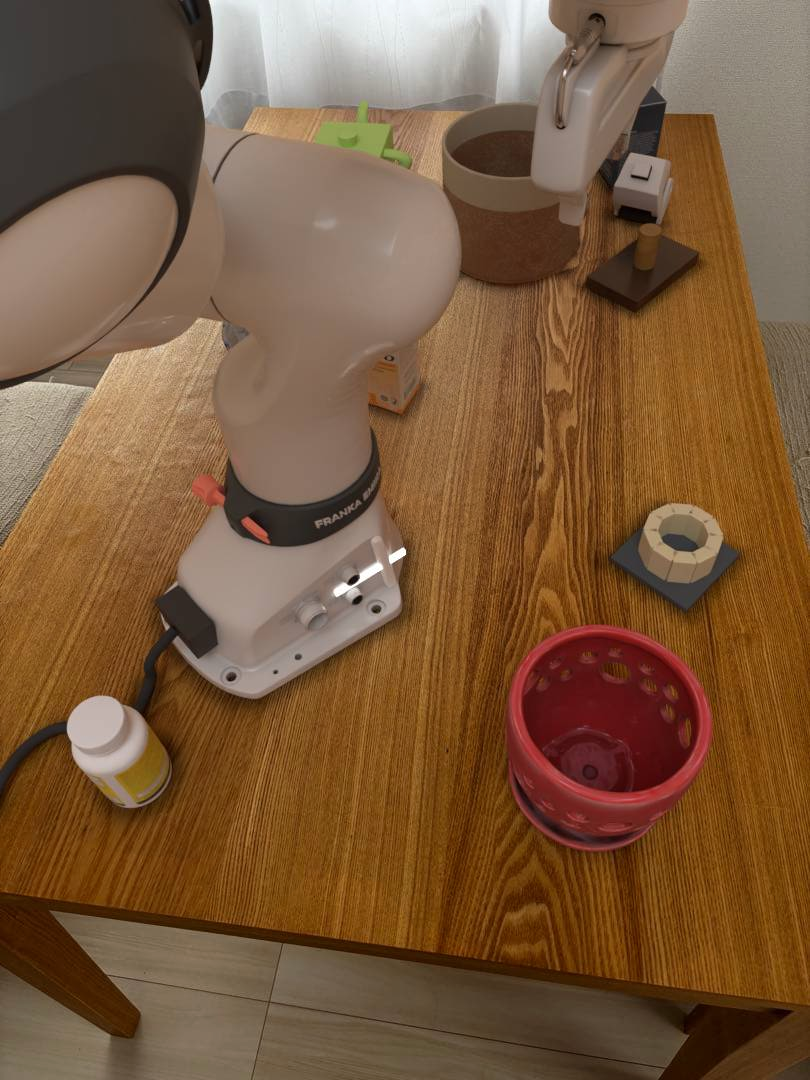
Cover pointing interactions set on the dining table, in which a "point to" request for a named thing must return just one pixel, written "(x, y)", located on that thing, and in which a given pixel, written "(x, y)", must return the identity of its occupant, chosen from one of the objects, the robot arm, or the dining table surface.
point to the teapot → (363, 137)
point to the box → (640, 135)
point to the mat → (671, 591)
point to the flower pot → (602, 736)
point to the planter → (502, 197)
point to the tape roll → (680, 563)
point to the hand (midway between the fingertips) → (593, 186)
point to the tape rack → (642, 269)
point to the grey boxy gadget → (643, 189)
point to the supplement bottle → (118, 751)
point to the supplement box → (395, 380)
